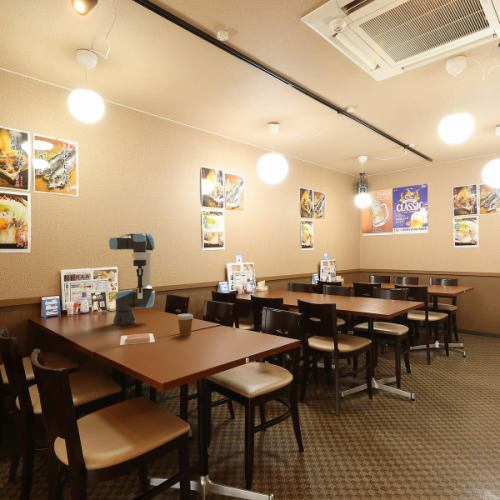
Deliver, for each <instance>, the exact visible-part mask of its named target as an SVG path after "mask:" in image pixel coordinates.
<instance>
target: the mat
mask: <svg viewBox="0 0 500 500" xmlns="http://www.w3.org/2000/svg"><path fill="white" fill-rule="evenodd" d="M153 333H154V332H153ZM153 333H149V335H150V341H149V342H137V343H127V335H128V334H127V335H121V336H120V340H119V345H120V346H123V345H133V344H135V345H136V344H146V343H155V337H154V334H153Z"/></svg>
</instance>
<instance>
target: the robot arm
mask: <svg viewBox="0 0 500 500" xmlns="http://www.w3.org/2000/svg"><path fill="white" fill-rule="evenodd" d="M108 244H109V249H110V250H111V251H112V250H114V251H116V250H132V254H131V255H132V256H133V257H132V259H133V261H132V263H133V264H132V265H133V267H137V268H136V277H137V286H136V288H135V291H134V289H125V290H120V291H117V292H115V298H114V299H115V313H114V317H113V320H112V325H114V326H129V325H133V324H136V322H137V321H136V317H135V314H134V309H144V308H145V309H147V308H152V307H153V306H154V302H155V295H156V291H155V290H154V288H153V286H152V284H151V283H152V280H151V279H152V275H151V274H152V272H151V271H152V265H151V264H152V263H151V262H152V260H151V259H152V258H151V257H152V253H153V252H154V250H155V249H156V248H155V240H154V235H153V234H151V233H127V234H124V235H120V236H119V237H116V236H114V237H110V238H109V241H108Z"/></svg>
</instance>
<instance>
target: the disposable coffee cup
mask: <svg viewBox="0 0 500 500" xmlns="http://www.w3.org/2000/svg"><path fill="white" fill-rule="evenodd" d="M193 318H194V315H193V314H192V313H180V314H177V321H178V329H179V330H178V331H179V335H180V336H182V337H187V336H191V335H192V327H193V326H192V325H193Z"/></svg>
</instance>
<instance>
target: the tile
mask: <svg viewBox="0 0 500 500" xmlns="http://www.w3.org/2000/svg"><path fill="white" fill-rule="evenodd" d="M149 334H150V333H149V332H146V333H145V332H144V333H134V334H127V343H137V342H149V341H150V335H149ZM149 343H150V342H149ZM137 344H138V343H137Z"/></svg>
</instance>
